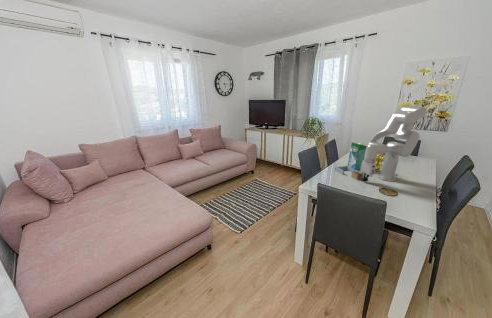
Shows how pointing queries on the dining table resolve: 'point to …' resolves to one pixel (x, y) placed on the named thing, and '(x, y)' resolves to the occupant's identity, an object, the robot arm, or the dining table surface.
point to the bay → (341, 168)
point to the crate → (357, 175)
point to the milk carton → (356, 155)
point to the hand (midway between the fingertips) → (364, 181)
